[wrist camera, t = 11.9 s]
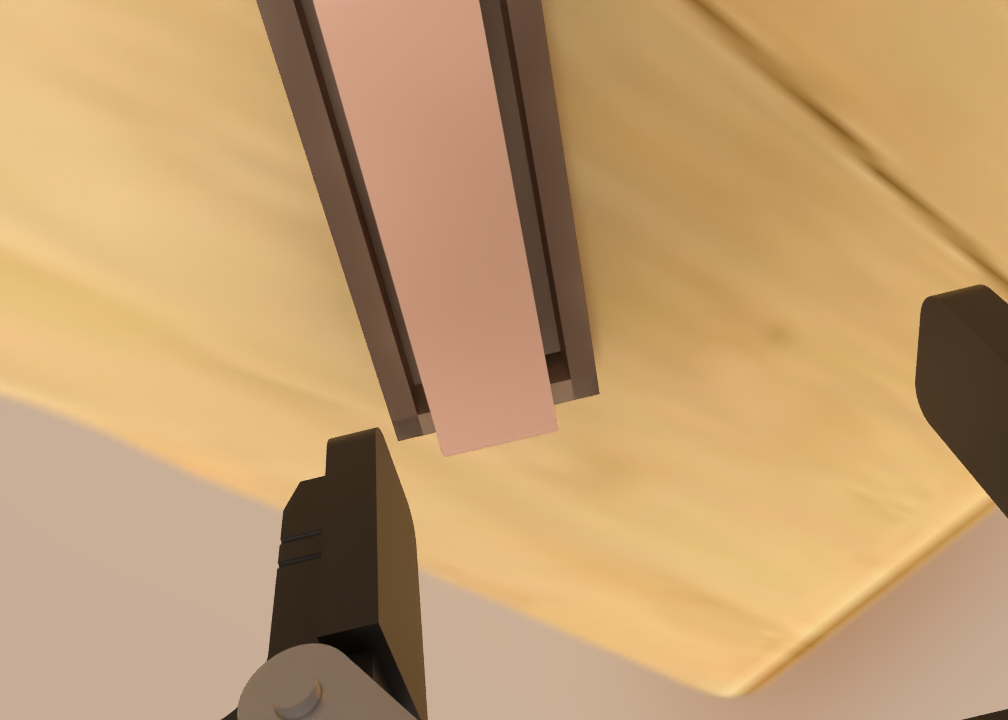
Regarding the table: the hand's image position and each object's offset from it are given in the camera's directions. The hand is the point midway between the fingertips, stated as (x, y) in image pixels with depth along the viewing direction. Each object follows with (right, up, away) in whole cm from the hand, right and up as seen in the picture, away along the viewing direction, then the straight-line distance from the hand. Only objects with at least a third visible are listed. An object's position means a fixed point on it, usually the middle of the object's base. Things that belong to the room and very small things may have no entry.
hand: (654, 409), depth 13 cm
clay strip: (-4, +7, +18) cm, 20 cm away
